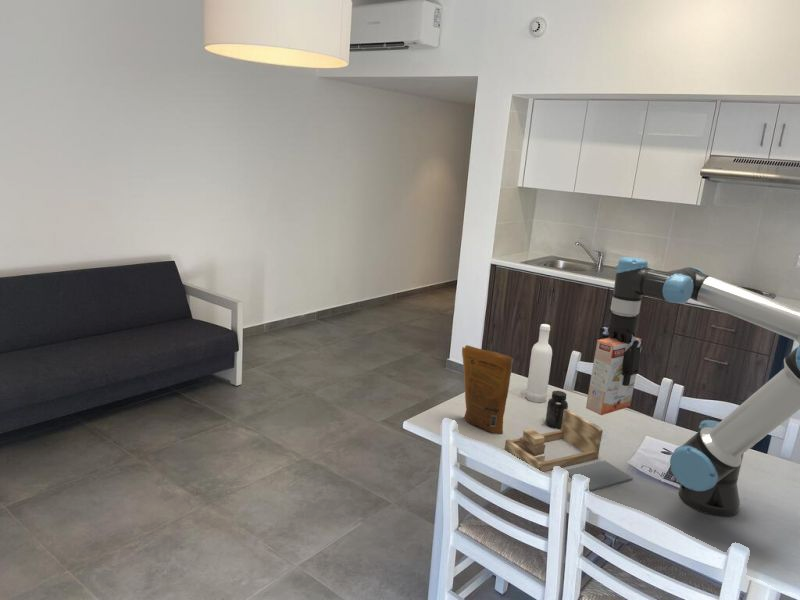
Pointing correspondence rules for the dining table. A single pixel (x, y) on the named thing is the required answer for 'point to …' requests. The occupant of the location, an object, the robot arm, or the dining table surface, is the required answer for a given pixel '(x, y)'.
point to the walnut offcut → (531, 447)
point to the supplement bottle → (556, 409)
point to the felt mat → (601, 474)
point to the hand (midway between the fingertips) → (611, 390)
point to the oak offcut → (533, 437)
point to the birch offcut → (539, 457)
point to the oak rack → (572, 432)
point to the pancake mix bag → (486, 387)
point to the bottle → (539, 367)
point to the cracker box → (608, 378)
